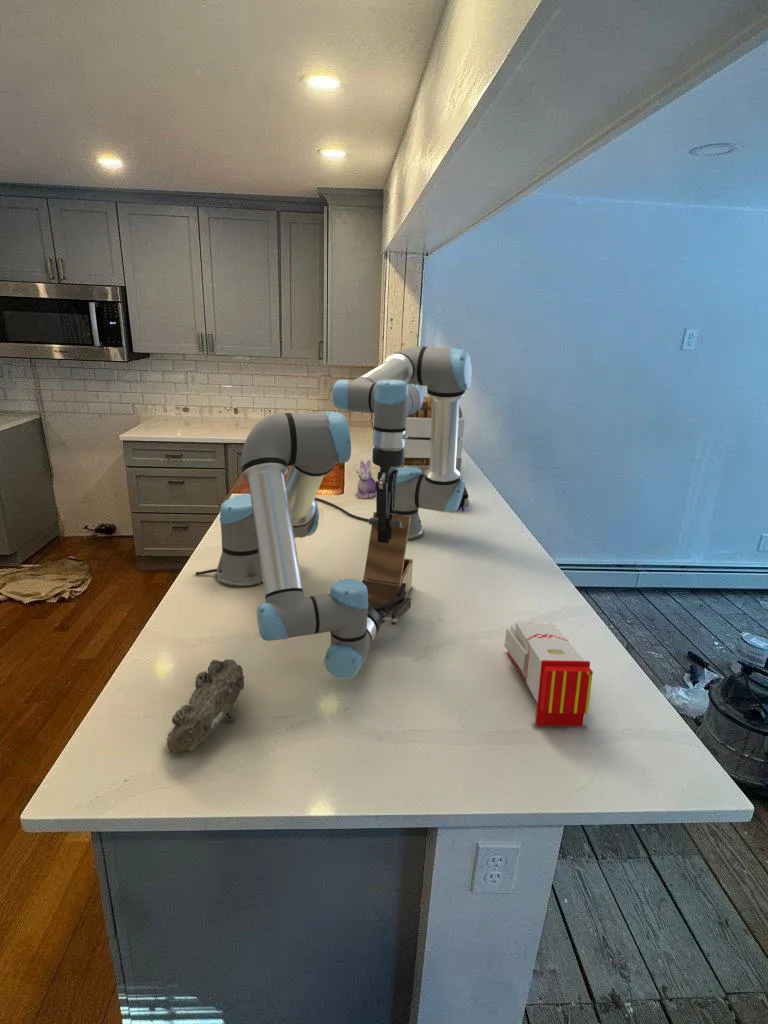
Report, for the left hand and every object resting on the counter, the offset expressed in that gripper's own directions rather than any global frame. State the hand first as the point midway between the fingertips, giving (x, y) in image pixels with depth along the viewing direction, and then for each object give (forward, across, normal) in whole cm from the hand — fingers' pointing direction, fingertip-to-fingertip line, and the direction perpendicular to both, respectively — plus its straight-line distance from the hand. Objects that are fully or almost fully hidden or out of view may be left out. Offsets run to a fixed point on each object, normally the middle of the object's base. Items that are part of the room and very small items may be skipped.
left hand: (384, 584), depth 149 cm
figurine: (+89, -30, -6) cm, 94 cm away
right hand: (-3, 0, +14) cm, 14 cm away
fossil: (-52, -21, -6) cm, 56 cm away
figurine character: (+88, +9, -6) cm, 89 cm away
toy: (-22, +40, -6) cm, 46 cm away
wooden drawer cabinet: (+132, -15, -6) cm, 133 cm away
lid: (+1, 0, +10) cm, 10 cm away
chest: (+5, 0, -6) cm, 8 cm away
